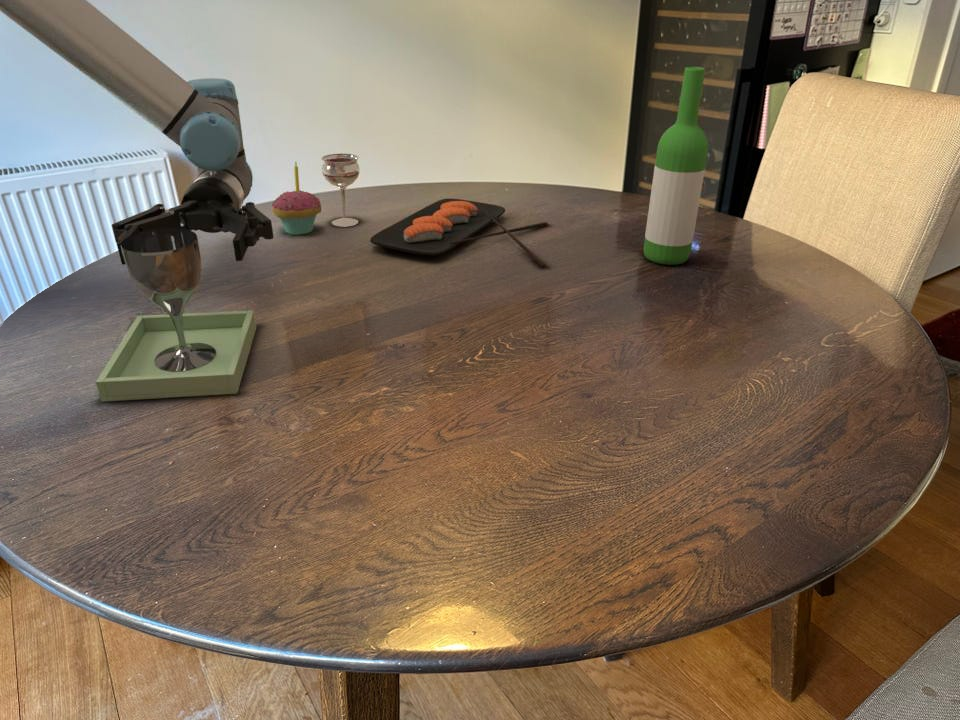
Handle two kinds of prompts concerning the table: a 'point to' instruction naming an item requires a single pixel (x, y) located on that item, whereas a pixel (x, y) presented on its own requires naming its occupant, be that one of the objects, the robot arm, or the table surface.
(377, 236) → the sushi plate
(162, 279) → the wine glass
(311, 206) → the cupcake
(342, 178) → the wineglass
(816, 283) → the table surface
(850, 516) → the table surface
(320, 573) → the table surface
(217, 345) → the tray
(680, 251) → the wine bottle
